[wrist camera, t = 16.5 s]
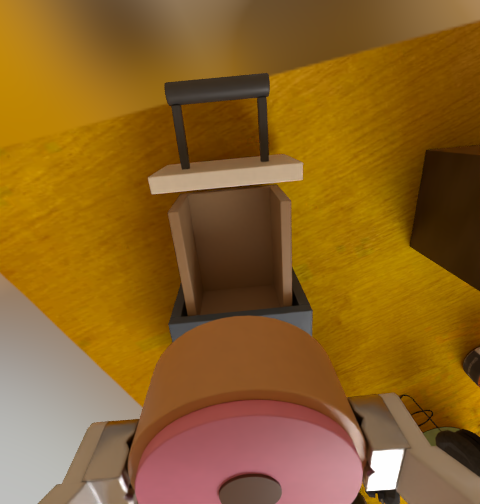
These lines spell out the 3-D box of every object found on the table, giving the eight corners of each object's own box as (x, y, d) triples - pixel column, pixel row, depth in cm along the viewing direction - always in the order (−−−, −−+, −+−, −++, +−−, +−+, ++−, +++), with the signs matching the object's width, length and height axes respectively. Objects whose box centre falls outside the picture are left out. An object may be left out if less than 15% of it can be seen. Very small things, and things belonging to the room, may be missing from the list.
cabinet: (183, 273, 31) (168, 324, 23) (290, 262, 31) (312, 310, 23) (202, 372, 37) (195, 440, 29) (291, 363, 37) (310, 429, 29)
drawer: (153, 92, 23) (126, 79, 17) (282, 80, 23) (303, 62, 17) (190, 293, 31) (181, 335, 24) (286, 284, 31) (302, 323, 24)
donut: (132, 325, 9) (85, 424, 6) (338, 305, 9) (393, 394, 6) (171, 452, 11) (151, 565, 8) (329, 437, 11) (364, 544, 8)
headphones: (339, 445, 44) (419, 668, 26) (333, 396, 40) (424, 625, 21) (436, 427, 43) (588, 644, 25) (440, 375, 39) (630, 594, 21)
